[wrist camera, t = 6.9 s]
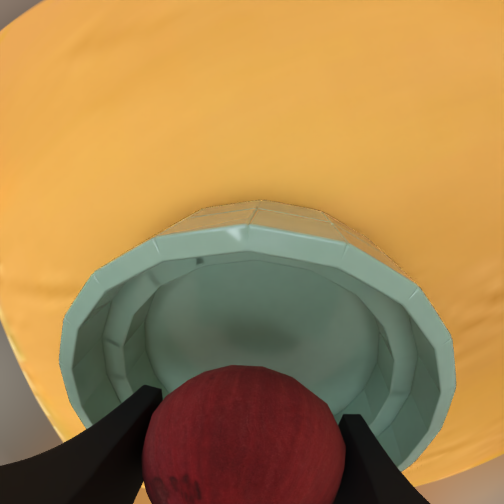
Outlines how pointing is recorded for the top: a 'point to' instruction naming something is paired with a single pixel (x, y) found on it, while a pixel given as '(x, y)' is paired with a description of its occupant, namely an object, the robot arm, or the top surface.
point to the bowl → (264, 320)
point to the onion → (242, 442)
